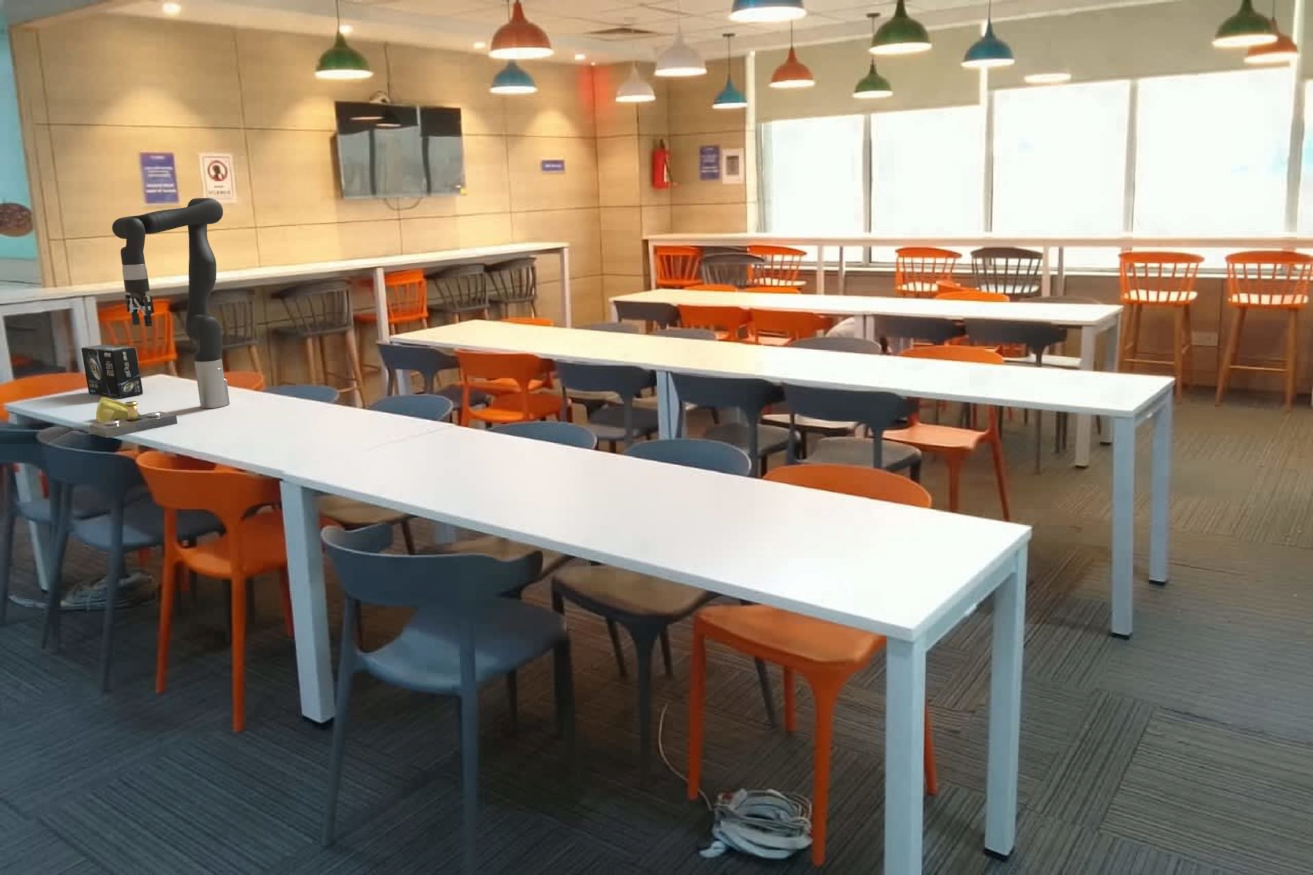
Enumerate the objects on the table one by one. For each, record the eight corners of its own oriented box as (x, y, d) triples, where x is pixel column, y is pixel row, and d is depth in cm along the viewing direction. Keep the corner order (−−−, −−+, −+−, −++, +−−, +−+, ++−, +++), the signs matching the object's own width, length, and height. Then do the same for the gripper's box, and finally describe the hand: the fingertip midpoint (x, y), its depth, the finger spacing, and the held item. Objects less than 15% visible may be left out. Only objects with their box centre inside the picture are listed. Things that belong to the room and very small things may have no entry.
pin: (137, 426, 357) (133, 400, 355) (143, 428, 355) (139, 402, 353) (126, 428, 354) (122, 402, 352) (132, 430, 352) (128, 404, 350)
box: (87, 394, 419) (80, 347, 414) (111, 389, 427) (104, 343, 422) (119, 399, 406) (112, 350, 402) (144, 394, 414) (137, 347, 410)
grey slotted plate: (161, 419, 367) (159, 409, 366) (177, 423, 361) (175, 412, 360) (90, 433, 349) (89, 422, 348) (106, 437, 342) (104, 426, 341)
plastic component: (142, 416, 364) (112, 407, 357) (135, 436, 363) (105, 428, 357) (126, 403, 378) (97, 395, 371) (119, 422, 378) (90, 415, 371)
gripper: (157, 277, 354) (163, 325, 358) (136, 276, 363) (143, 323, 367) (135, 279, 348) (142, 328, 352) (114, 278, 357) (121, 325, 361)
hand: (142, 325), depth 359 cm, fingers open, 8 cm apart
